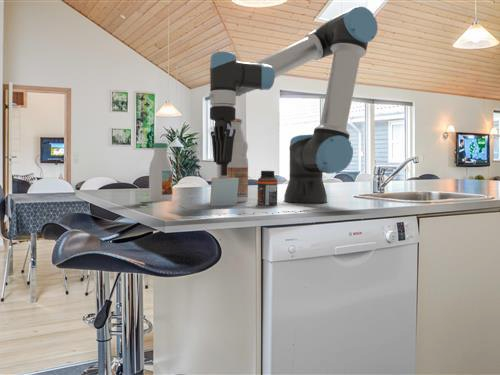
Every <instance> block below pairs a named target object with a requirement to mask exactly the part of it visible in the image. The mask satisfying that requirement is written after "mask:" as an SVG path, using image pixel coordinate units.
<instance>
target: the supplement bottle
mask: <svg viewBox="0 0 500 375" xmlns="http://www.w3.org/2000/svg"><path fill="white" fill-rule="evenodd" d="M277 205H278V179H277V177H275V171H274V170H261V172H260V177H259V178H258V179H257V206H263V207H264V206H265V207H269V206H271V207H272V206H273V207H274V206H277Z"/></svg>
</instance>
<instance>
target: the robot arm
mask: <svg viewBox="0 0 500 375" xmlns="http://www.w3.org/2000/svg"><path fill="white" fill-rule="evenodd" d="M376 18H377V17H375V16H374V14H373V12H372V11H371V10H370V9H368V8H367V7H365V6H360V5H359V6H354V7H352V8H348V9H347V10H345V11H344V12H343V13H340V14H339V15H337V16H336V15H335V17H333V18H331V19H329V20H328V21H326V22H324V23H323V24H322V25H321V26H319V27H317V28H315V29H314V30H313V31H311V32H309V33H307V34H306V35H305V37H304V38H303V39H301V40H299V41H296V42H295V43H293V44H291V45H289V46H286V47H284V48H282V49H280V50H278V51H276V52H274V53H272V54H270V55H267V56H266V57H264V58H261V59H259V60H256V62H244V61H239V60H237V55H236V54H235V53H234V52H230V51H215V52H213V53H212V54H211V56H210V60H209V61H210V64H209V76H210V77H209V80H210V82H209V83H210V86H209V87H210V89H209V90H210V91H209V94H208V97H209V100H210V101H209V104H210V106H211V107H210V108H209V120H212V121H214V127H213V131H212V130H211V131H210V137H211V143H212V145H211V146H212V155H213V156H212V157H213V163H216V178H228V164H229V162H231V160H232V151H233V142H234V136H235V132H236V130H235V129H232V128H231V121H233V120H235V119H236V115H237V114H236V113H237V111H236V108H235V106H237V104H236V103H237V99H236V98H237V97H240V96H242V95H244V94H247V93H250V92H252V91H255V90H260V91H265V90H267V91H268V90H270V89H271V88H273V86H274V83H275V79H276V78H278V77H280V76H282V75H284V74H286V73H288V72H291V71H292V70H294V69H296V68H299V67H300V66H302V65H304V64H307V63H308V62H310V61H312V60H313V61H319V60H322V59H324V58H326V57H328V56H331V55H333V57H332V62H331V66H330V73H329V78H328V83H327V88H326V92H325V96H324V97H325V98H324V101H323V102H324V103H323V108H322V112H321V117H320V123H319V125H317V126H316V127H314V129H313V133H312V134H311V133H310V134H307V133H306V134H301V135H299V134H298V135H295V136H293V137H292V138H291V139H290V141H289V150H288V151H289V180H288V183H287V187H286V188H285V189H286V190H285V193H284V198H283V199H284V202H287V203H295V204H296V203H297V204H298V203H299V204H304V203H305V204H320V203H327V202H328V195H327V190H326V188H325V185H324V182H323V181H324V180H323V173H325V174H335V173H340V172H343V170H345V169H347V168H348V166H349V165H350V163H351V162H352V159H353V156H354V149H353V146H352V143H351V140H350V136H351V135H350V133H349V131H348V130H347V126H348V121H349V116H350V111H351V107H352V106H351V105H352V101H353V97H354V96H353V95H354V90H355V85H356V81H357V75H358V71H359V70H358V69H359V65H360V62H361V61H360V60H361V58H363V57H364V56H366V53H367V48H368V44H369V43H370V42H371V41H373V40H374V39H375V37H376V35H377V33H378V27H379V26H378V22H377V19H376Z"/></svg>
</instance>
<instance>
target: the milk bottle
mask: <svg viewBox="0 0 500 375" xmlns="http://www.w3.org/2000/svg"><path fill="white" fill-rule="evenodd" d="M168 147H169V145H168V143H165V142H154V143H153V150H154V153H153V156H152V159H151V160H150V163H149V168H148V169H149V170H148V171H149V172H148V180H149V181H148V201H149V202H150V203H151V202H152V203H153V202H155V203H156V202H173V166H172V165H173V164H172V163H171V162H172V161H171V160H170V157H169V155H168Z"/></svg>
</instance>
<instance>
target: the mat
mask: <svg viewBox="0 0 500 375" xmlns="http://www.w3.org/2000/svg"><path fill="white" fill-rule="evenodd" d="M178 207H179V208H182V209H183V208H184V209H187V210H190V211H207V210H209V211H210V210H214V211H215V210H230V209H232V210H233V209H234V210H235V209H251V208H253V209H254V207H253V206H247V205H242V204H238V203H237V205H223V206H211V205H210V204H193V205H191V204H189V205H178Z"/></svg>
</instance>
